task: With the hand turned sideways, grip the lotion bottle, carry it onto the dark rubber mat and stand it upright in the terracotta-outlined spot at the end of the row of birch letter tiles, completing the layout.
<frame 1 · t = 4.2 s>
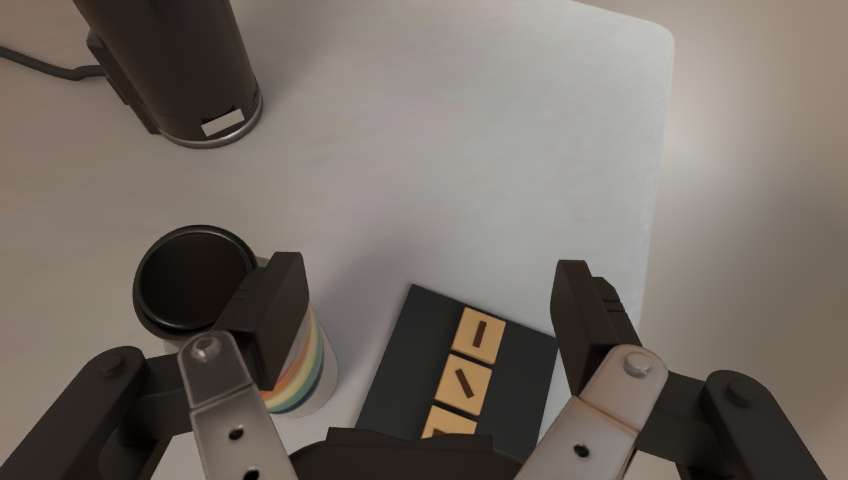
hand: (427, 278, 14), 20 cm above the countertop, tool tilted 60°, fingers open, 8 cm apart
lotion bottle: (298, 376, 32), on the countertop, touching gripper
mat: (432, 477, 30), on the countertop
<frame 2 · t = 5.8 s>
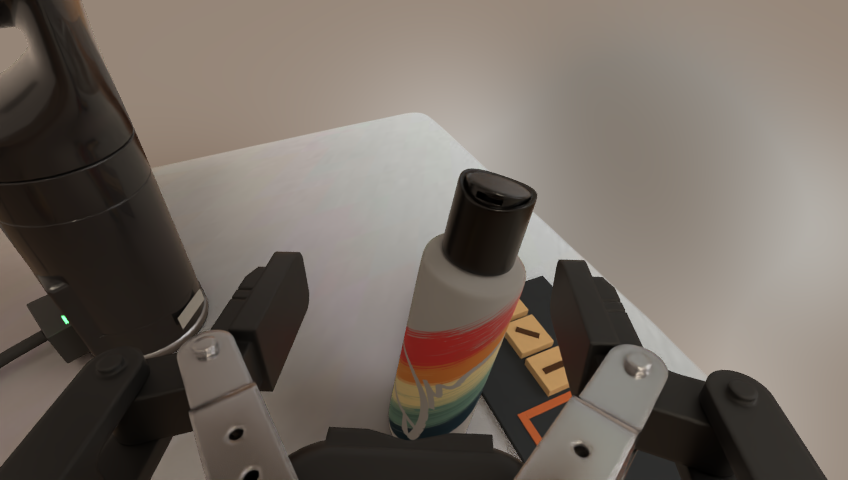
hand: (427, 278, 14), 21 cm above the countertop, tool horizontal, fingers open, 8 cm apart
lotion bottle: (425, 424, 33), on the countertop
mat: (570, 402, 35), on the countertop
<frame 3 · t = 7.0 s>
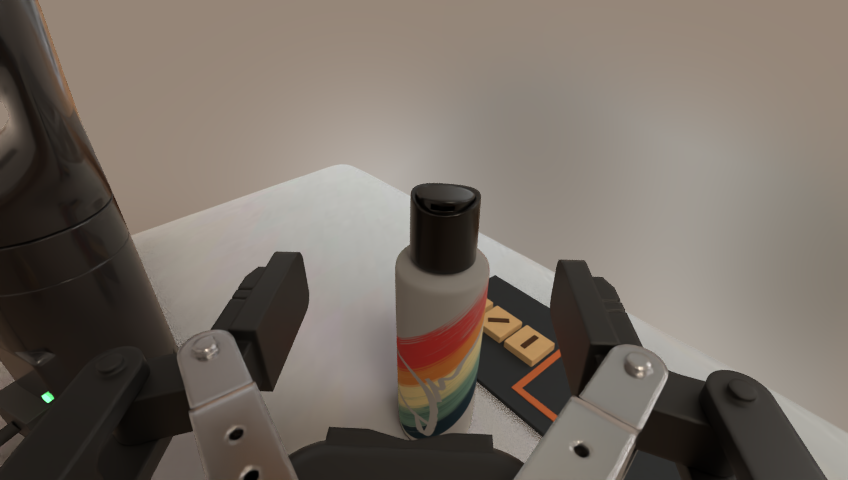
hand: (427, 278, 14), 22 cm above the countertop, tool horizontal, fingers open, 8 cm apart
lotion bottle: (435, 418, 35), on the countertop
mat: (550, 367, 39), on the countertop
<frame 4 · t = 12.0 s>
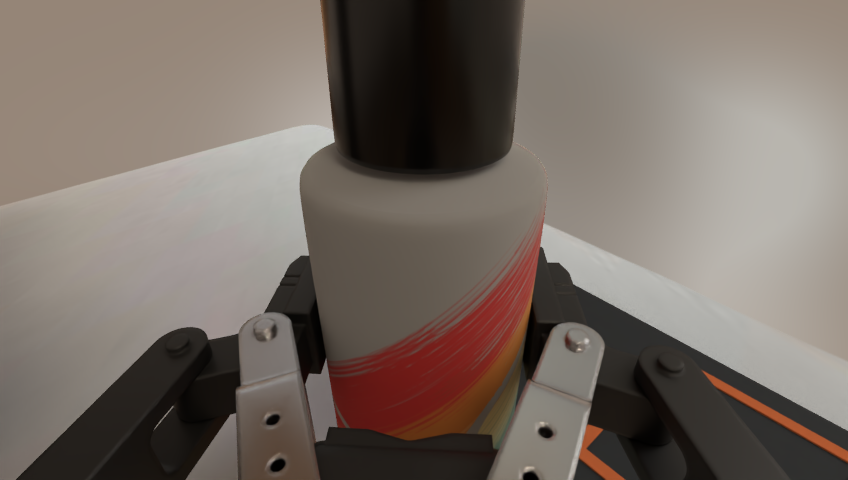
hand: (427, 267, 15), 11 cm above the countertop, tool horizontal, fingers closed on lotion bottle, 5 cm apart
mat: (628, 405, 23), on the countertop
when the fingers open (11 cm above the countertop, at t = 18.4 s): lotion bottle stays where it is, resting on mat.
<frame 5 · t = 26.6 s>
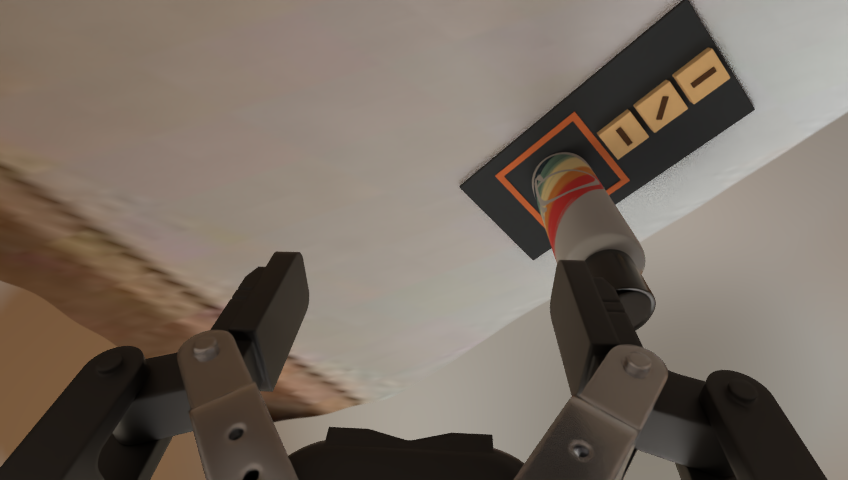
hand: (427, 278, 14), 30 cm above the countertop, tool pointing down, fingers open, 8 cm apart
lotion bottle: (560, 177, 44), resting on mat
mat: (596, 149, 43), on the countertop
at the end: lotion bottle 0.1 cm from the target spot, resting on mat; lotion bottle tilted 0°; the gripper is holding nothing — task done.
